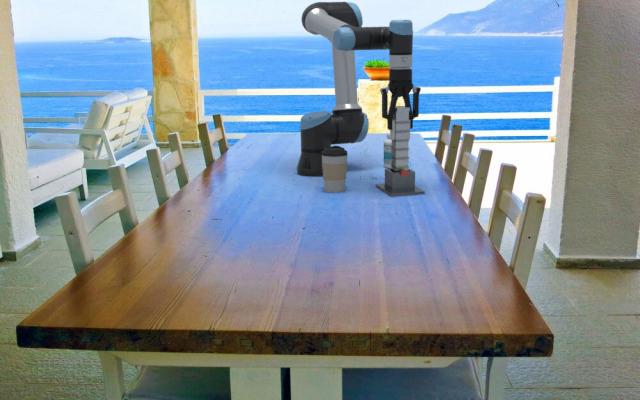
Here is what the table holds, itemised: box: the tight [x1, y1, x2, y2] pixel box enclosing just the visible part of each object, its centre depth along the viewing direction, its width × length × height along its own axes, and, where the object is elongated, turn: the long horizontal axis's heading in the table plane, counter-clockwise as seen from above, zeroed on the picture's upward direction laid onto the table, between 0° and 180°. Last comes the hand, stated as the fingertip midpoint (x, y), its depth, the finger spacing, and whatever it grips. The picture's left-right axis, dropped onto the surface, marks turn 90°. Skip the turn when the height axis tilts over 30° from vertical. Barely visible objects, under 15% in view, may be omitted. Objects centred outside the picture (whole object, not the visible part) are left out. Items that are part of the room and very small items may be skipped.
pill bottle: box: [383, 132, 392, 169], centre depth 275 cm, size 8×7×14 cm
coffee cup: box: [321, 145, 348, 193], centre depth 235 cm, size 9×9×15 cm
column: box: [390, 105, 410, 171], centre depth 230 cm, size 4×6×21 cm
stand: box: [375, 168, 426, 197], centre depth 233 cm, size 12×16×8 cm
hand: (400, 138), depth 230 cm, fingers open, 5 cm apart
